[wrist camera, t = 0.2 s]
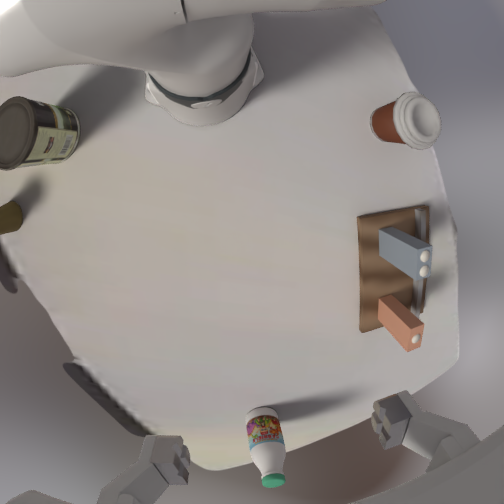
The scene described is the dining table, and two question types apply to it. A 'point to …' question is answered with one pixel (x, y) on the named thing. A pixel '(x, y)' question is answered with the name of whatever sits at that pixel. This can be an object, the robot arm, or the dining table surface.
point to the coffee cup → (407, 121)
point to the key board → (388, 264)
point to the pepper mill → (10, 217)
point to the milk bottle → (266, 445)
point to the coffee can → (35, 133)
